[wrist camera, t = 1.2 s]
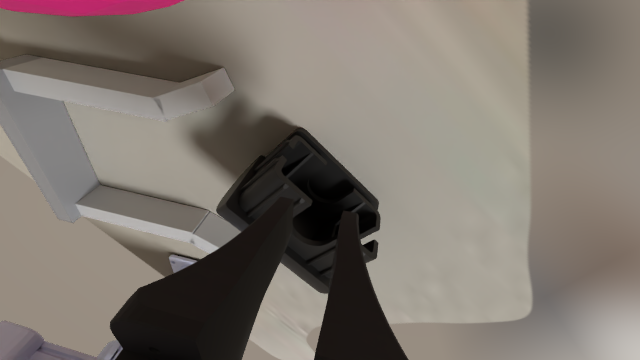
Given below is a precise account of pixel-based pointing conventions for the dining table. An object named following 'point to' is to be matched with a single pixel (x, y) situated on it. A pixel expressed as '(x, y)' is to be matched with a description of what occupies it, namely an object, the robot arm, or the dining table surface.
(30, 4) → the pepper mill
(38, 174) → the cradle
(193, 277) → the robot arm
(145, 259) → the dining table surface
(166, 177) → the dining table surface
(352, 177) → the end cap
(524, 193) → the dining table surface
